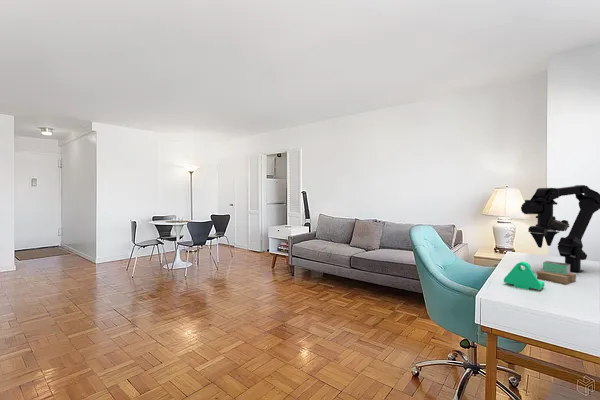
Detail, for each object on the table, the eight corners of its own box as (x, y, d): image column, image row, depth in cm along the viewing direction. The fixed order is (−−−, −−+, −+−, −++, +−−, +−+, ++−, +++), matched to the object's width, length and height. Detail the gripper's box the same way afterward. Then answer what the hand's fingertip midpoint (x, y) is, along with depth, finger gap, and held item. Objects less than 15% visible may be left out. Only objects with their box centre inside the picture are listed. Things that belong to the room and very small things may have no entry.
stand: (547, 275, 137) (547, 268, 137) (575, 281, 129) (575, 274, 128) (536, 278, 132) (537, 271, 132) (565, 284, 124) (565, 277, 124)
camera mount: (544, 288, 120) (545, 262, 120) (540, 292, 115) (540, 265, 115) (509, 281, 129) (509, 257, 129) (503, 285, 124) (504, 260, 124)
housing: (546, 270, 135) (546, 260, 135) (570, 273, 129) (570, 264, 129) (542, 271, 132) (543, 262, 132) (566, 275, 126) (566, 265, 126)
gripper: (557, 216, 132) (556, 251, 132) (575, 214, 141) (574, 247, 141) (528, 214, 142) (527, 247, 142) (546, 213, 151) (545, 244, 151)
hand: (544, 246), depth 144 cm, fingers open, 9 cm apart
